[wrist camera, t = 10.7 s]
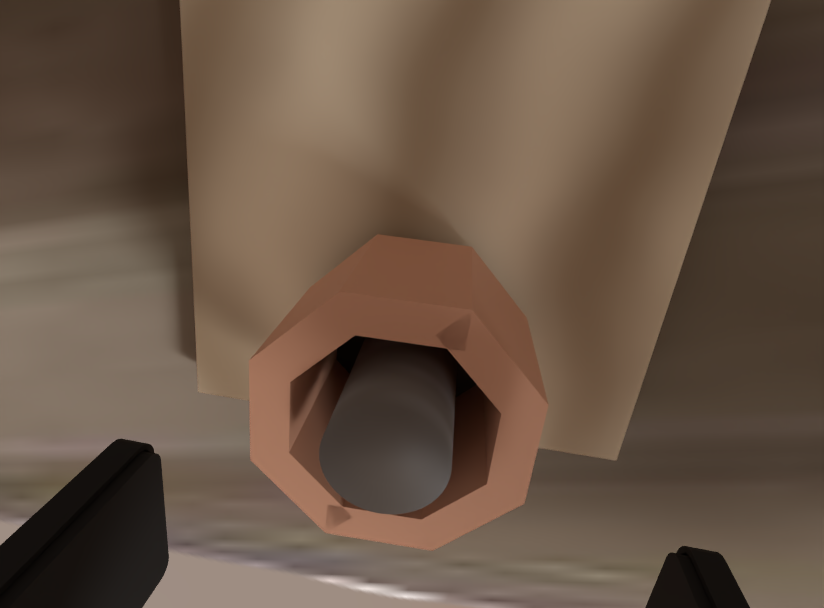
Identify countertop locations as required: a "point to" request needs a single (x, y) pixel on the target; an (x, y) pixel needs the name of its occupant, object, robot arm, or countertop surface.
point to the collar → (417, 324)
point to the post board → (454, 193)
